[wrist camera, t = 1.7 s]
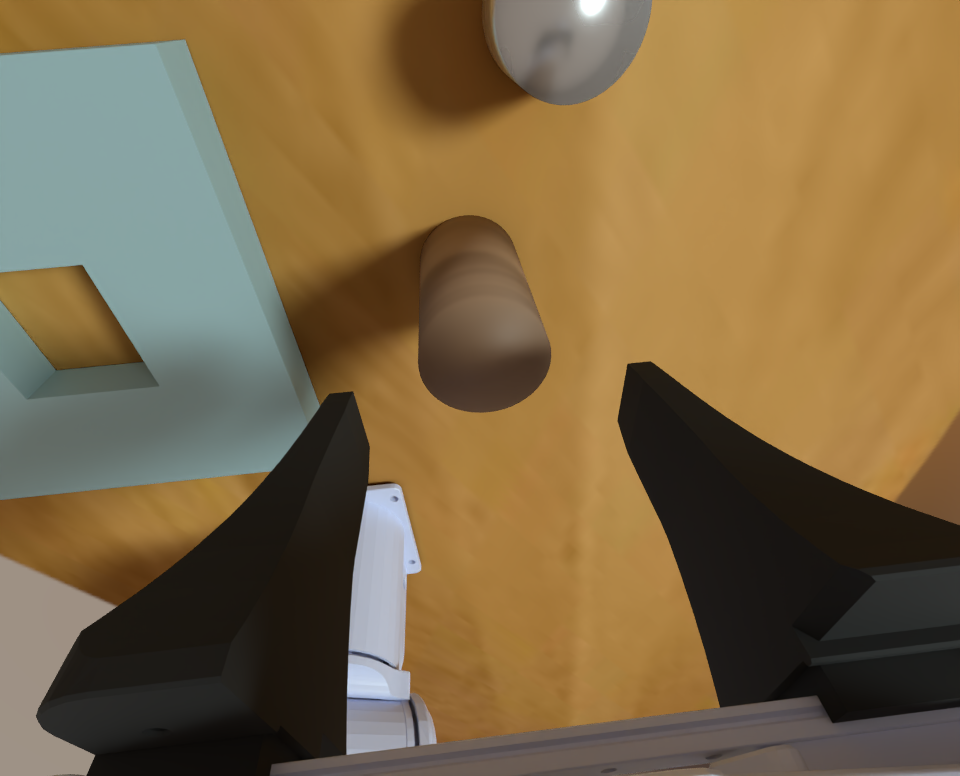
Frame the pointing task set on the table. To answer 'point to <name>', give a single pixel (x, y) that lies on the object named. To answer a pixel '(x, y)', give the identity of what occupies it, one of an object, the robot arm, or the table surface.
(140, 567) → the table surface
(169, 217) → the hole board
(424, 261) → the walnut pin
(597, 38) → the grey round piece
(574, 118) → the table surface
